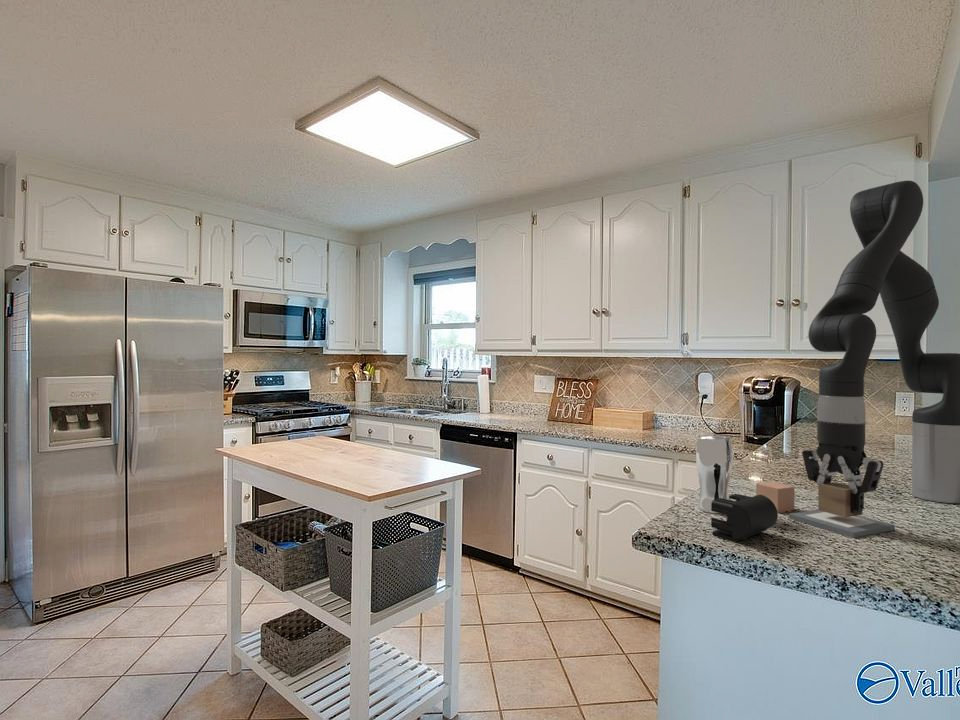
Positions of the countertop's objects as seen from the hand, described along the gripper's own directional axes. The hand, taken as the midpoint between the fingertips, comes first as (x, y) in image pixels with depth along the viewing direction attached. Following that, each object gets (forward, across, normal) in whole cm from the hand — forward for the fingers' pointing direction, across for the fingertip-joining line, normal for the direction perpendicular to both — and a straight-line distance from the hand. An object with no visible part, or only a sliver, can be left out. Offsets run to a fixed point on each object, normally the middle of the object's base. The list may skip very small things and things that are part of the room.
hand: (840, 508), depth 98 cm
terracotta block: (+3, +12, +2) cm, 13 cm away
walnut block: (+1, 0, 0) cm, 1 cm away
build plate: (+3, 0, 0) cm, 3 cm away
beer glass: (+3, +16, +15) cm, 22 cm away
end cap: (+3, +2, +23) cm, 23 cm away
